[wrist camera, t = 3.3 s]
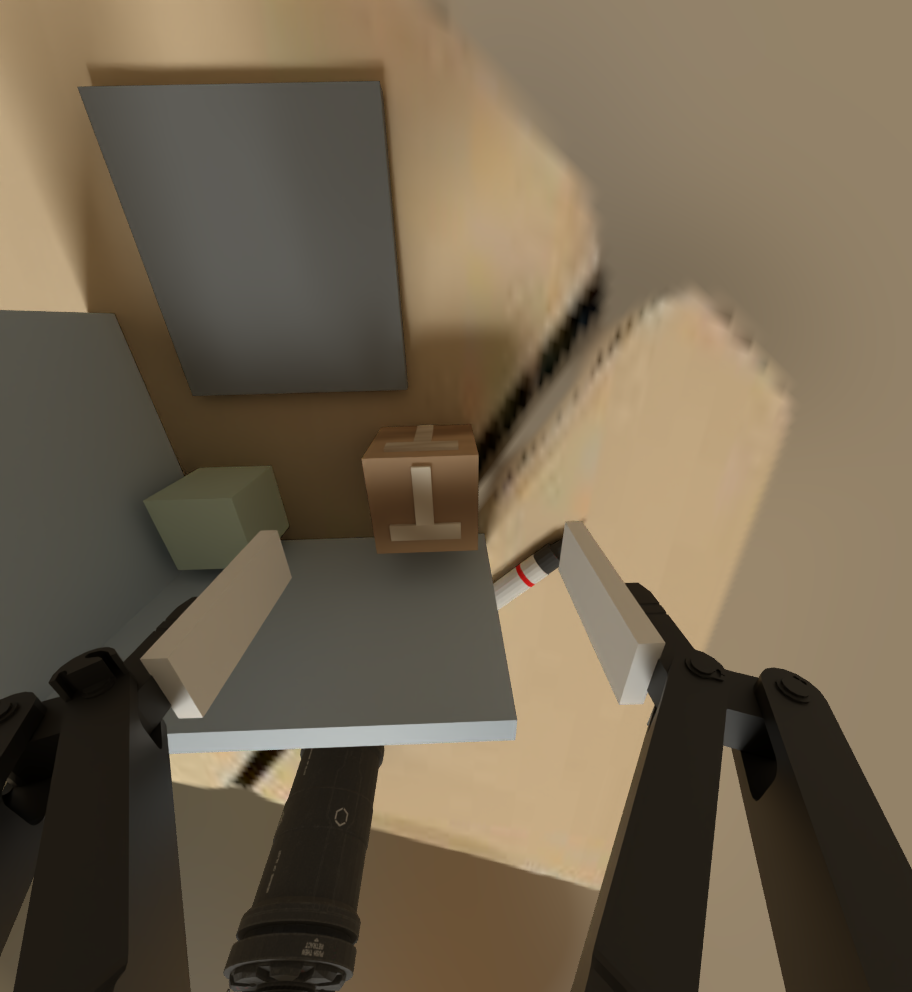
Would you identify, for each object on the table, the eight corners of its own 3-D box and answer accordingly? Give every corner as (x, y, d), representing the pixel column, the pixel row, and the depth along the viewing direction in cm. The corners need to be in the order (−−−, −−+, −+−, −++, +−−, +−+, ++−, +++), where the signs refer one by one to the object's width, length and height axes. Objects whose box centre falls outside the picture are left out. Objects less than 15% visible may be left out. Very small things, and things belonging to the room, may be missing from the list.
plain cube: (200, 467, 24) (142, 500, 19) (272, 465, 24) (231, 498, 19) (224, 527, 26) (178, 570, 21) (289, 525, 26) (257, 567, 21)
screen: (86, 314, 19) (-597, 296, 7) (488, 303, 19) (563, 267, 7) (200, 558, 27) (-13, 761, 14) (483, 549, 27) (515, 740, 15)
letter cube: (381, 424, 22) (359, 456, 17) (470, 421, 22) (478, 452, 17) (391, 505, 25) (376, 555, 20) (471, 502, 25) (478, 552, 20)
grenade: (401, 727, 38) (361, 1077, 21) (360, 771, 43) (297, 1092, 25) (324, 703, 36) (205, 1074, 18) (289, 751, 40) (164, 1092, 22)
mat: (94, 97, 15) (77, 86, 14) (382, 92, 15) (379, 80, 15) (201, 393, 21) (192, 395, 20) (408, 387, 21) (406, 389, 21)
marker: (450, 631, 32) (450, 649, 30) (435, 620, 31) (434, 639, 29) (584, 534, 27) (593, 549, 25) (570, 520, 26) (579, 534, 25)
